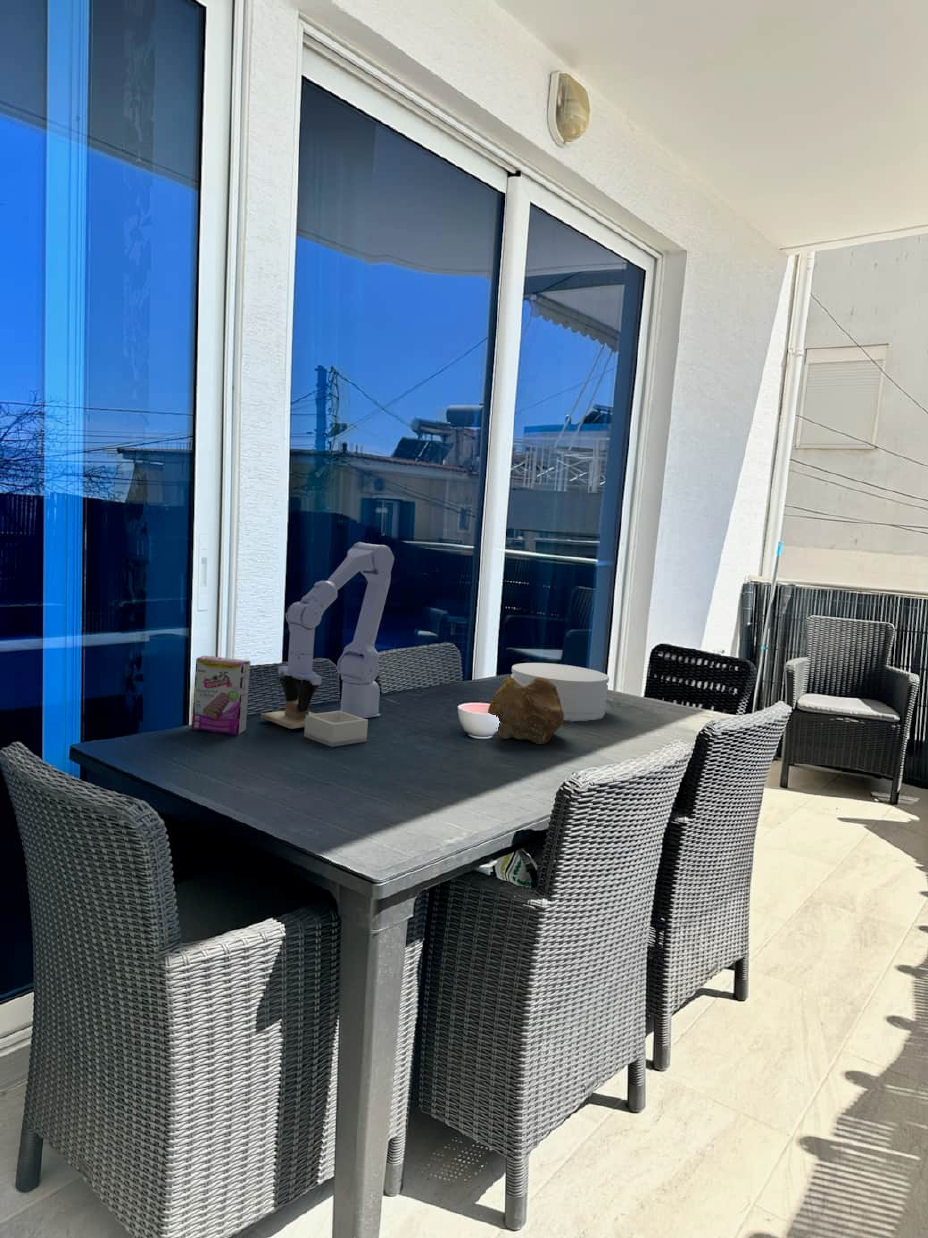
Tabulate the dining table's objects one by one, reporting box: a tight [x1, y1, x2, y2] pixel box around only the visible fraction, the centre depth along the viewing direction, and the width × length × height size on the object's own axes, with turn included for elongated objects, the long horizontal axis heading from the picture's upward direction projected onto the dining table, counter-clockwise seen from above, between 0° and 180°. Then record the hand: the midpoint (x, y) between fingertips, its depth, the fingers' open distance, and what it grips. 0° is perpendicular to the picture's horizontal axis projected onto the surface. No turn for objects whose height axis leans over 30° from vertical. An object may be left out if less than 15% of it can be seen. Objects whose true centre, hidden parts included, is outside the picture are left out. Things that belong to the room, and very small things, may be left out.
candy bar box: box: [191, 655, 251, 736], centre depth 198 cm, size 11×5×16 cm, turn 84°
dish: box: [303, 710, 369, 748], centre depth 200 cm, size 10×10×5 cm
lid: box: [260, 699, 316, 730], centre depth 210 cm, size 12×12×4 cm
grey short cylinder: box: [510, 662, 610, 720], centre depth 255 cm, size 28×28×12 cm
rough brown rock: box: [487, 676, 564, 745], centre depth 217 cm, size 23×17×15 cm
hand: (297, 709), depth 210 cm, fingers closed on lid, 4 cm apart
